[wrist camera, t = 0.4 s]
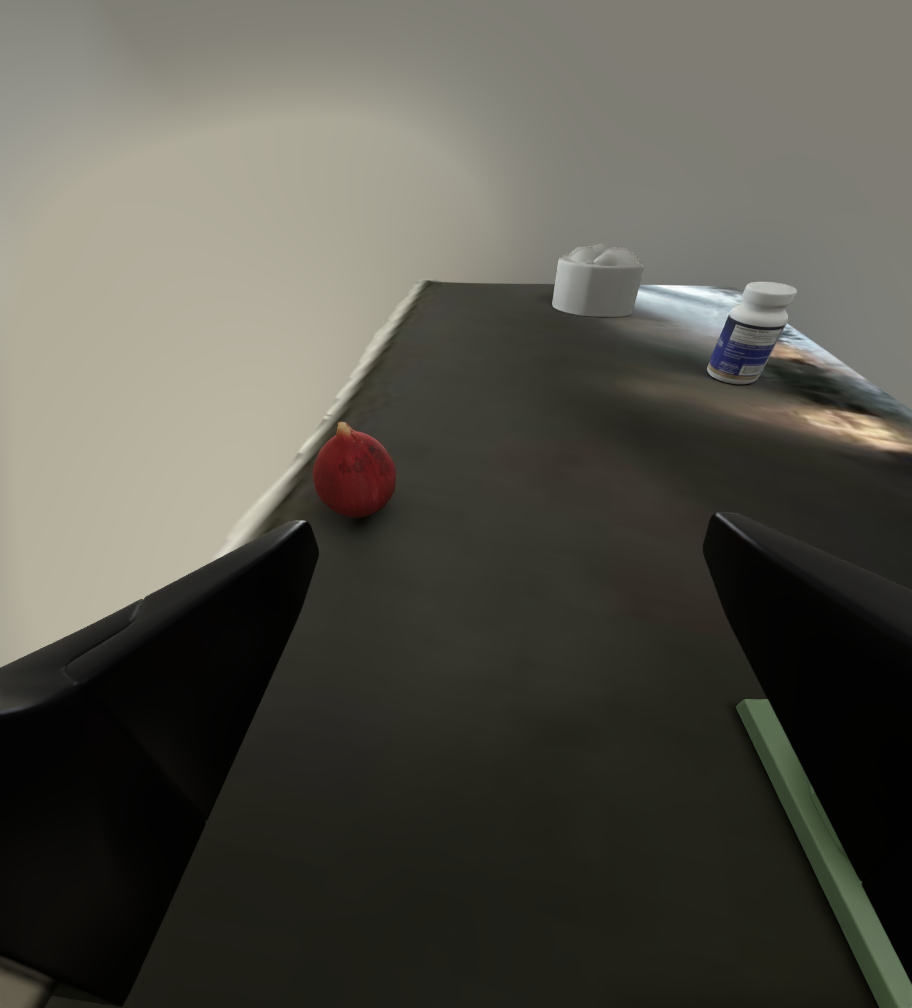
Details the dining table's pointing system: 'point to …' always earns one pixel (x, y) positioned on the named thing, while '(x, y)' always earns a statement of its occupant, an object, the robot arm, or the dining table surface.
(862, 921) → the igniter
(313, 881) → the dining table surface
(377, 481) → the onion
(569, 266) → the lumpy-topped squat cylinder
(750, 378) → the pill bottle
